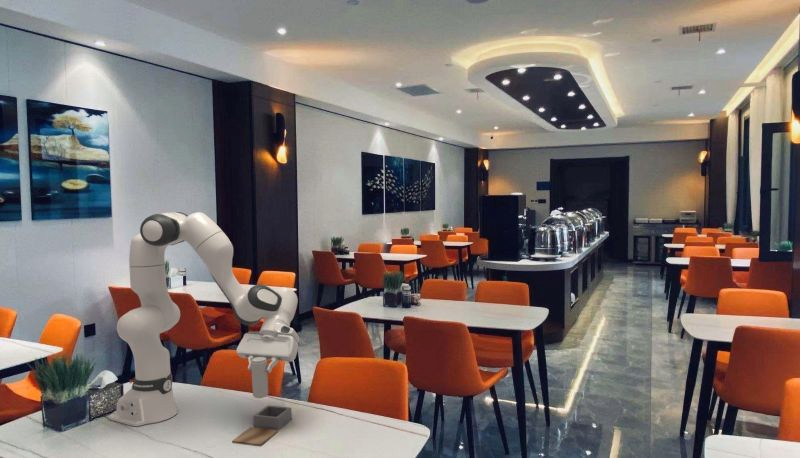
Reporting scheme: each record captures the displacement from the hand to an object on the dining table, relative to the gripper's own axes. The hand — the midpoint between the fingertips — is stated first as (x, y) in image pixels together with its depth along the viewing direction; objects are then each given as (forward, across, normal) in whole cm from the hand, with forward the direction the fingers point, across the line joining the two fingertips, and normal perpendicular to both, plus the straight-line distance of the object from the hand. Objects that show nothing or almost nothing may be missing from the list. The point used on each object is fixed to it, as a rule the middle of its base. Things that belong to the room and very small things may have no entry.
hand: (258, 370), depth 169 cm
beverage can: (+6, 0, +6) cm, 8 cm away
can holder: (+9, 0, +19) cm, 21 cm away
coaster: (+17, 0, +12) cm, 20 cm away
